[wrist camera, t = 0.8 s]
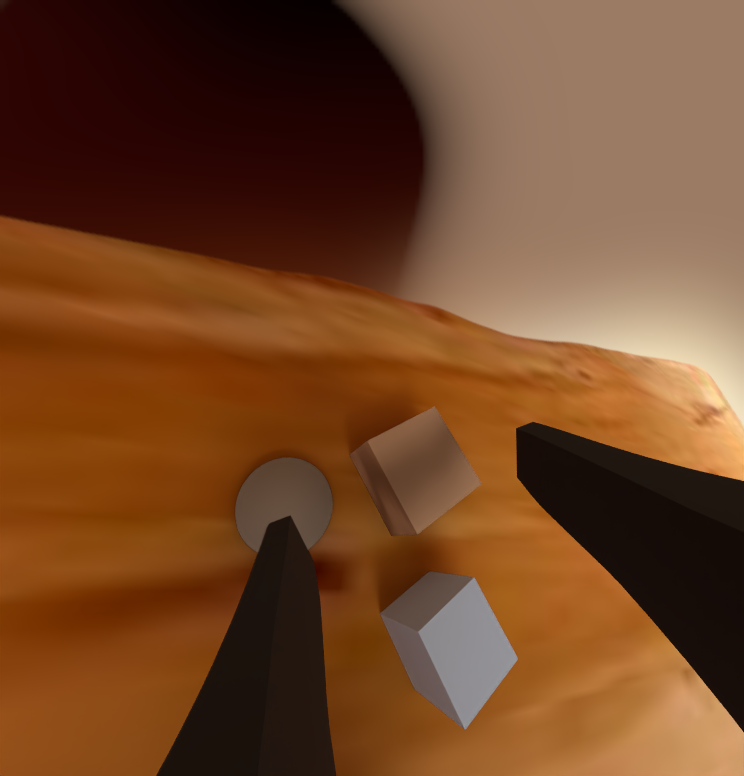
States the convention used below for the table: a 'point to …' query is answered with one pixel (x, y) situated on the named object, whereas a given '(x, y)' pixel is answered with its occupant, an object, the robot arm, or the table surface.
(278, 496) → the smooth gray stone
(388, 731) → the table surface
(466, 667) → the gray block
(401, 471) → the walnut block
